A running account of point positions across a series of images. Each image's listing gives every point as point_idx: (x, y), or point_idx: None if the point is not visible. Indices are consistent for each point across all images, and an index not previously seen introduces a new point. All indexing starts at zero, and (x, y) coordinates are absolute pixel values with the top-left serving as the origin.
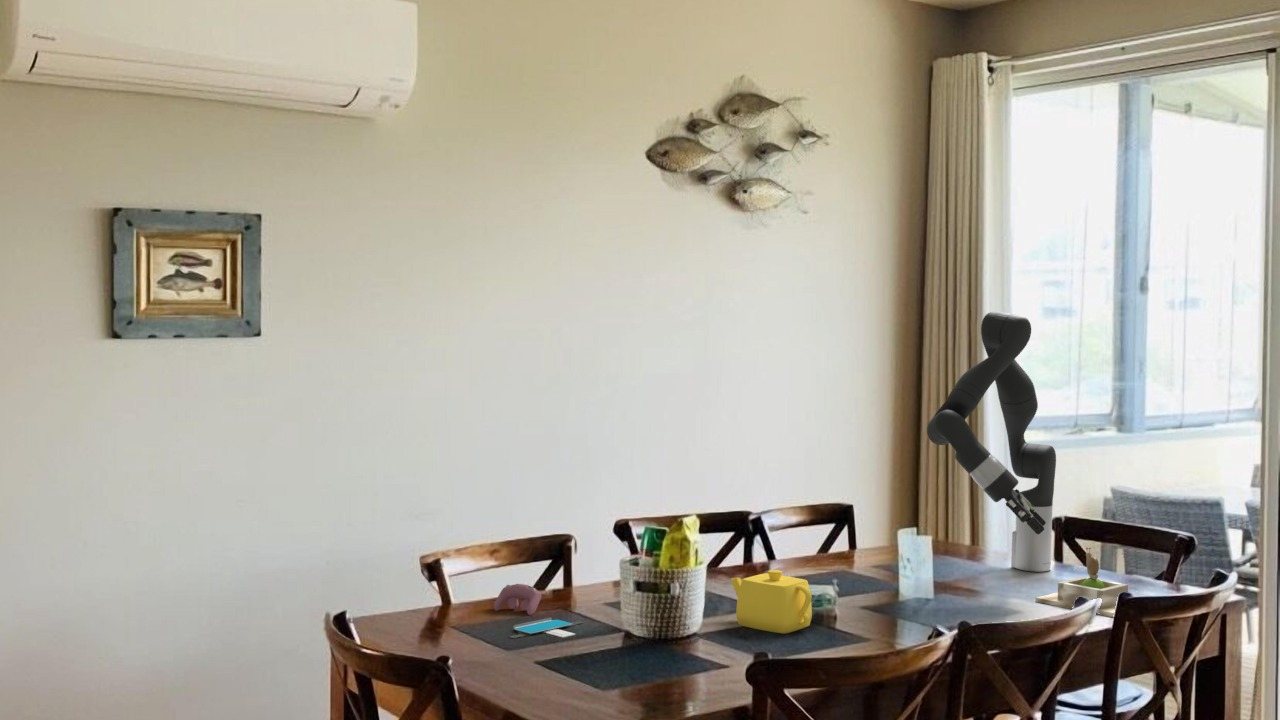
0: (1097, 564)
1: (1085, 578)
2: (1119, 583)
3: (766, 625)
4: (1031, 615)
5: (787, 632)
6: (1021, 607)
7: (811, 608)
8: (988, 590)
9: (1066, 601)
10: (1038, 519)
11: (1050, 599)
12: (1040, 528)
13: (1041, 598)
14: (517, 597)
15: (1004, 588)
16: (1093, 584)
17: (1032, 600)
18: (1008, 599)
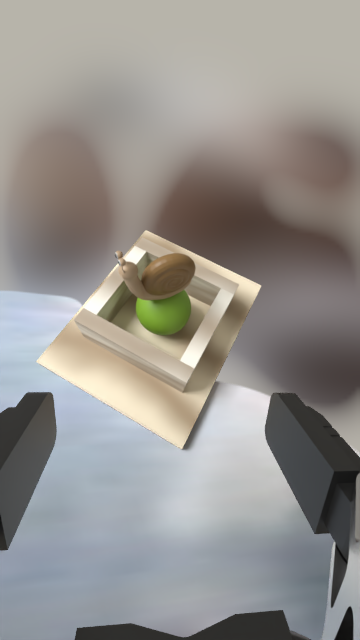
0: (193, 261)
1: (98, 316)
2: (134, 250)
3: None
4: None
5: None
6: (266, 483)
7: None
8: (61, 632)
9: (196, 372)
10: (31, 445)
11: (189, 409)
12: (314, 415)
13: (187, 433)
14: None
15: (13, 571)
16: (188, 299)
17: (166, 459)
18: (181, 534)
